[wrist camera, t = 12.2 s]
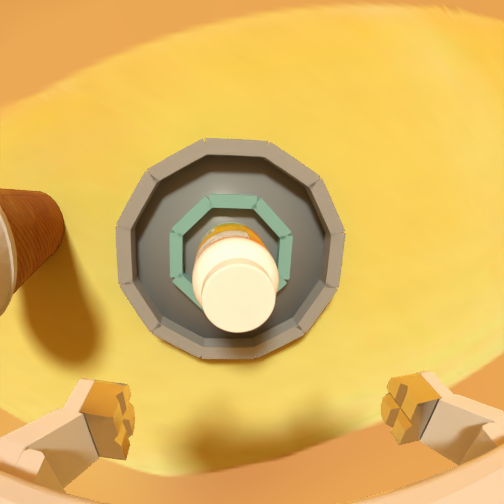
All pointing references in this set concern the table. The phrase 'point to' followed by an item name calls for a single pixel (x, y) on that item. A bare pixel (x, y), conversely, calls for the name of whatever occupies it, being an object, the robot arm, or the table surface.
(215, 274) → the supplement bottle
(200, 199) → the round tray
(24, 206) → the disposable coffee cup
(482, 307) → the table surface
